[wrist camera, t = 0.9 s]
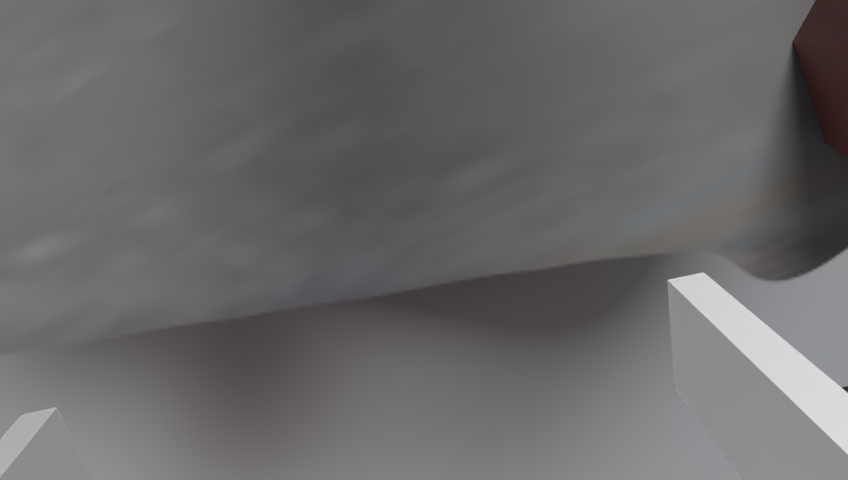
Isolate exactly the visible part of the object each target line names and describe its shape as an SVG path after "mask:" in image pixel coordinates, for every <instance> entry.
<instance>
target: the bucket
mask: <svg viewBox="0 0 848 480" xmlns="http://www.w3.org/2000/svg"><path fill="white" fill-rule="evenodd" d="M793 45H794V48H795V51H796V54H797V57H798V60H799V63H800V66H801V69H802V72H803V75H804V79H805V82H806V85H807V88H808V91H809V94H810V97H811V100H812V103H813V106H814V109H815V112H816V115H817V118H818V121H819V124H820V127H821V131H822V134H823V137H824V140H825V143H826V144H828V145H829V146H831V147H832V148H833V149H835V150H836V151H838V152H839V153H841V154H842V155H844V156H845V157H847V158H848V0H816V1H815V3H814V5H813V6H812V8H811V10H810V12H809V14H808V15H807V17H806V19H805V21H804V22H803V24H802V26H801V28H800V30H799V31H798V33H797V35H796V37H795V38H794V40H793Z"/></svg>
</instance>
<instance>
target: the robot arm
mask: <svg viewBox="0 0 848 480" xmlns="http://www.w3.org/2000/svg"><path fill="white" fill-rule="evenodd" d="M667 281H668V295H669V312H670V328H671V342H672V343H671V344H672V359H673V374H674V389H675V390H676V392H677V393H678V395H679V396H680V397H681V398H682V400H683V401H684V402H685V404H686V405H687V406H688V408H689V409H690V410H691V412H692V413H693V414H694V415H695V417H696V418H697V420H698V421H699V422H700V424H701V425H702V426H703V427H704V429H705V430H706V431H707V433H708V434H709V435H710V437H711V438H712V439H713V440H714V442H715V443H716V445H717V446H718V447H719V449H720V450H721V451H722V452H723V454H724V455H725V457H726V458H727V459H728V461H729V462H730V463H731V464H732V466H733V467H734V468H735V470H736V471H737V472H738V474H739V475H740V476H741V478H742V479H743V480H848V387H843V388H841V387H840V386H839V385H838V384H837V383H835V382H834V381H833V380H831V378H829V377H828V376H827V375H826V374H825V373H823V372H822V371H821V370H820V369H819V368H817V367H816V366H815V365H814V364H812V363H811V362H810V361H809V360H808V359H807V358H805V357H804V356H803V355H802V354H801V353H799V352H798V351H797V350H796V349H795V348H793V347H792V346H791V345H790V344H789V343H787V342H786V341H785V340H784V339H783V338H782V337H780V336H779V335H778V334H777V333H775V332H774V331H773V330H772V329H771V328H770V327H768V326H767V325H766V324H765V323H763V322H762V321H761V320H760V319H759V318H758V317H756V316H755V315H754V314H753V313H752V312H750V311H749V310H748V309H747V308H746V307H744V306H743V305H742V304H741V303H740V302H738V301H737V300H736V299H735V298H734V297H732V296H731V295H730V294H729V293H728V292H726V291H725V290H724V289H723V288H722V287H720V286H719V285H718V284H717V283H716V282H714V281H713V280H712V279H711V278H710V277H709V276H707V275H706V274H705V273H704V272H703V273H698V274H694V275H689V276H684V277H679V278H674V279H670V280H667ZM0 480H93V478H92V476H91V474H90V472H89V470H88V468H87V466H86V464H85V462H84V460H83V458H82V456H81V454H80V452H79V450H78V448H77V446H76V444H75V442H74V440H73V438H72V436H71V434H70V432H69V430H68V428H67V426H66V424H65V422H64V420H63V418H62V416H61V414H60V412H59V410H58V408H57V407H56V408H51V409H46V410H42V411H37V412H32V413H27V414H23V415H21V416H20V417H19V419H18V420H17V421H16V422H15V423H14V424H13V425H12V426H11V428H10V429H9V430H8V431H7V432H6V433H5V434H4V435H3V437H2V438H1V439H0Z"/></svg>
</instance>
